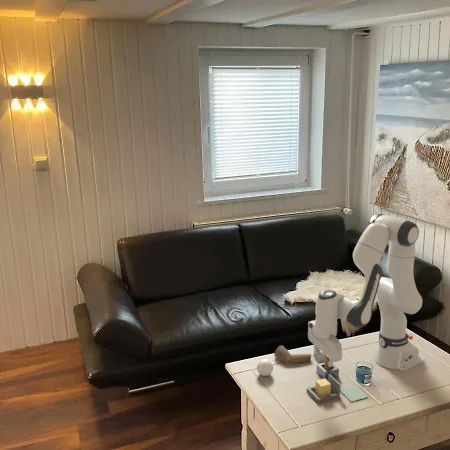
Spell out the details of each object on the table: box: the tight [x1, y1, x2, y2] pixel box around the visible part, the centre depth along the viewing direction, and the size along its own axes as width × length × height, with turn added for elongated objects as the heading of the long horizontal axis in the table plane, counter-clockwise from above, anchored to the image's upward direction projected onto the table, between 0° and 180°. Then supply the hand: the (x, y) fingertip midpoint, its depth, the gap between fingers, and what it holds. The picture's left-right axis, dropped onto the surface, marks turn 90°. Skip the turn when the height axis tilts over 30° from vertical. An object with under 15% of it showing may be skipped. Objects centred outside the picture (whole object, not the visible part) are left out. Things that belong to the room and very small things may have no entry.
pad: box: [340, 386, 368, 403], centre depth 217 cm, size 8×8×1 cm
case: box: [306, 374, 342, 404], centre depth 216 cm, size 11×9×6 cm
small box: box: [313, 347, 325, 363], centre depth 244 cm, size 6×6×5 cm
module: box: [314, 378, 331, 398], centre depth 216 cm, size 4×4×6 cm
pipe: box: [273, 345, 312, 365], centre depth 243 cm, size 6×17×10 cm
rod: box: [324, 355, 331, 370], centre depth 230 cm, size 3×3×10 cm
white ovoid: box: [252, 358, 274, 377], centre depth 230 cm, size 10×7×7 cm
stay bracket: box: [316, 362, 340, 381], centre depth 230 cm, size 7×7×4 cm
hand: (323, 360), depth 212 cm, fingers open, 8 cm apart
